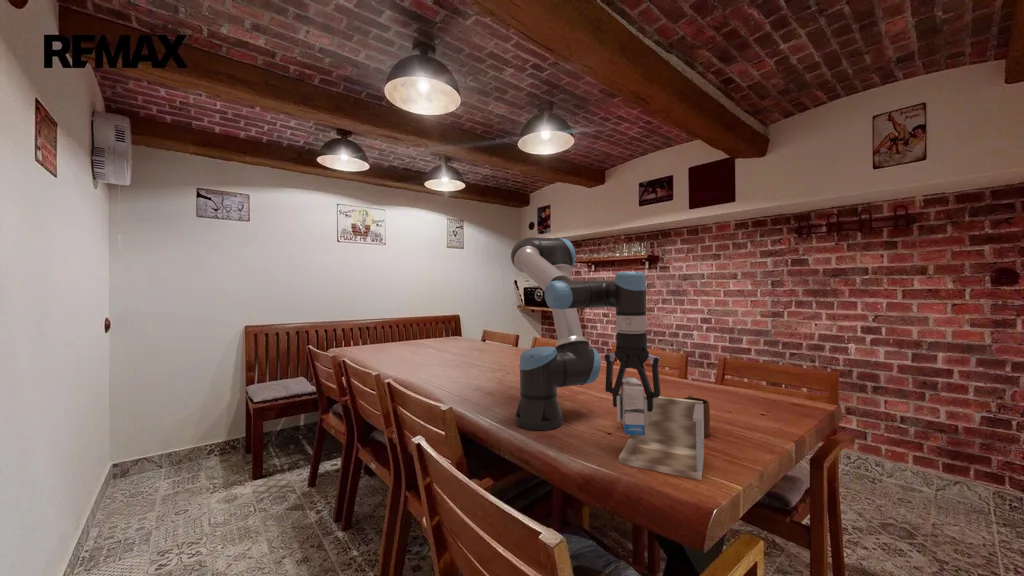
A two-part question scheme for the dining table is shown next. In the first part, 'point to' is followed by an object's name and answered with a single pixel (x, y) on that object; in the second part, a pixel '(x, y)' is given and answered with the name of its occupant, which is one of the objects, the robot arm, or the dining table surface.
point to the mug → (706, 414)
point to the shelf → (666, 440)
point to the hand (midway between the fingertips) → (632, 421)
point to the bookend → (699, 435)
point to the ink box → (633, 407)
